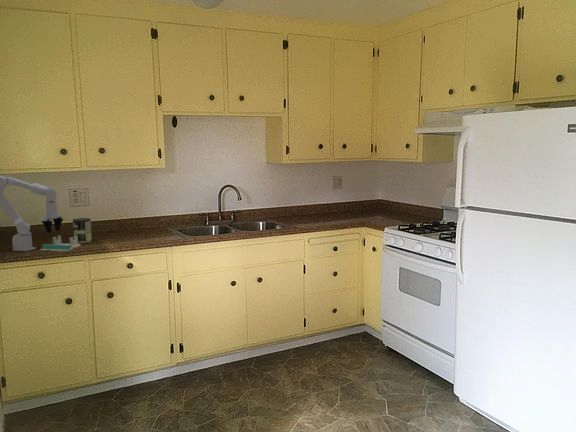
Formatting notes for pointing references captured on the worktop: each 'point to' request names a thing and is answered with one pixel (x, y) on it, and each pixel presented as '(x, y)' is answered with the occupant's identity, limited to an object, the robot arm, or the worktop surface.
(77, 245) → the stand
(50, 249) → the mat
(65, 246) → the rail
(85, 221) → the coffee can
